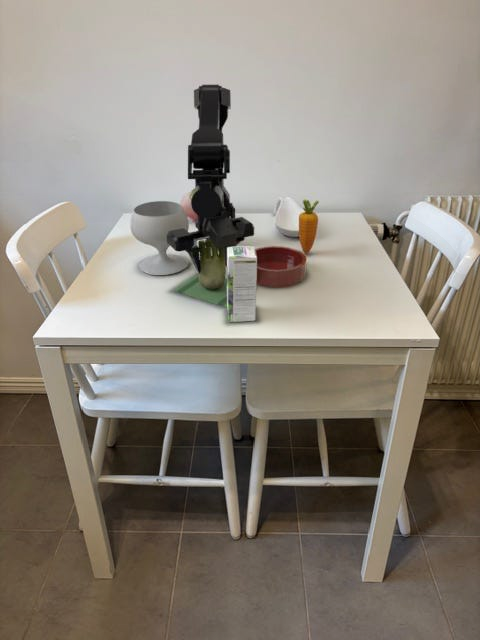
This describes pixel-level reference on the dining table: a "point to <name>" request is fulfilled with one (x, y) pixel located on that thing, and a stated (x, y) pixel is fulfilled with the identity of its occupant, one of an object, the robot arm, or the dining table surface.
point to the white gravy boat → (287, 216)
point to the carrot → (308, 226)
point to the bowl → (280, 266)
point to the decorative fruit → (188, 205)
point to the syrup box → (241, 283)
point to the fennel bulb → (211, 265)
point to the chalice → (159, 234)
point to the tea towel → (203, 291)
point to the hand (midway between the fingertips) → (212, 269)
